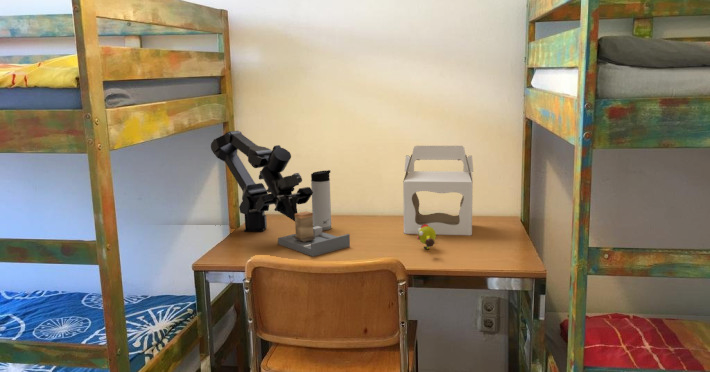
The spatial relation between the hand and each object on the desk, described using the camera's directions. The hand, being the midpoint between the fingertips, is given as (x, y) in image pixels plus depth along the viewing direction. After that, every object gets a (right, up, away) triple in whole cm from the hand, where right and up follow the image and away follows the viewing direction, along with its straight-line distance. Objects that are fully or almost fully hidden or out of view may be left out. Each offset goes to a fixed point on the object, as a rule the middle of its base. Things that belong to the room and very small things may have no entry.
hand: (296, 220), depth 183 cm
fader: (+3, -5, -2) cm, 6 cm away
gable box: (+46, -4, +14) cm, 48 cm away
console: (+5, -8, 0) cm, 9 cm away
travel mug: (+7, -4, +19) cm, 21 cm away
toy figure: (+39, -8, -7) cm, 41 cm away
